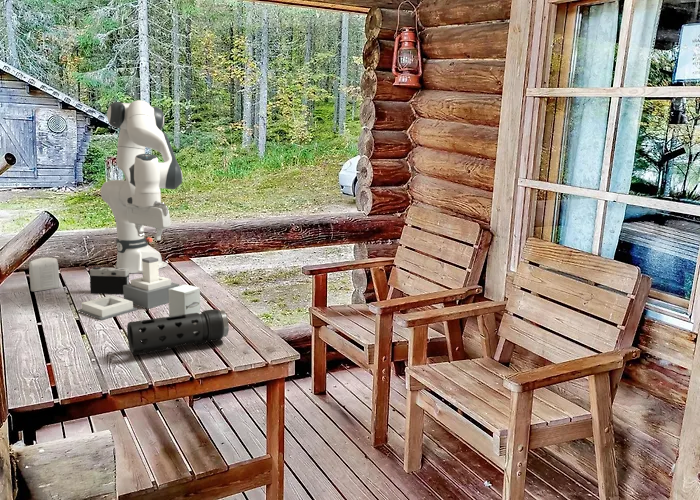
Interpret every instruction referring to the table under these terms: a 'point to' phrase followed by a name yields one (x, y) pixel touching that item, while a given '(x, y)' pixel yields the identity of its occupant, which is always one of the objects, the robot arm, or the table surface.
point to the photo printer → (44, 274)
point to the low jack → (107, 307)
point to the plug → (150, 269)
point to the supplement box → (184, 300)
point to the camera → (108, 280)
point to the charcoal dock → (148, 292)
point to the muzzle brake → (176, 331)
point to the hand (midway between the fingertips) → (149, 238)
